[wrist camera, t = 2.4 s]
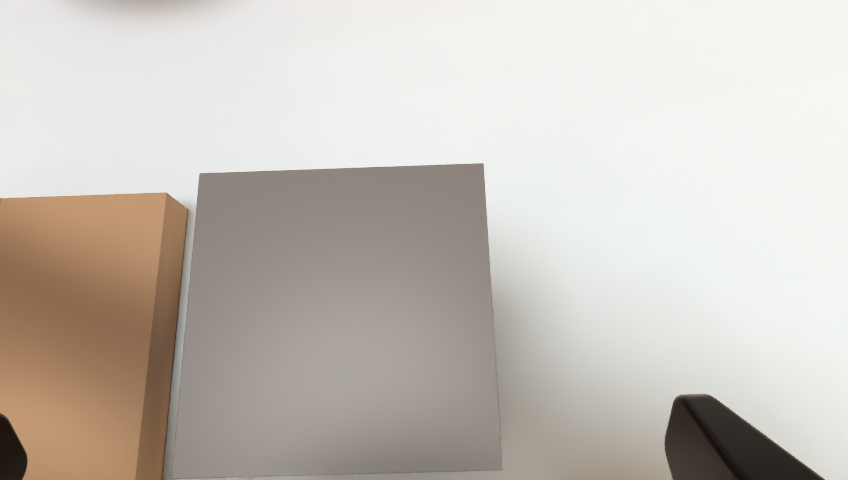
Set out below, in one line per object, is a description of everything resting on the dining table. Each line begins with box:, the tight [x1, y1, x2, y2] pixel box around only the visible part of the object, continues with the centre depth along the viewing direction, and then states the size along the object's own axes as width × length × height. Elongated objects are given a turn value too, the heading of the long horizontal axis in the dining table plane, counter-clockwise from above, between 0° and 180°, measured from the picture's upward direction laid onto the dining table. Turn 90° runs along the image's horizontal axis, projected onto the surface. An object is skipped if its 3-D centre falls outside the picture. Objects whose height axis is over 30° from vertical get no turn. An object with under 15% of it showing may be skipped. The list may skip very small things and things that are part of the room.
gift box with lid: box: [171, 163, 502, 479], centre depth 13 cm, size 5×5×9 cm
